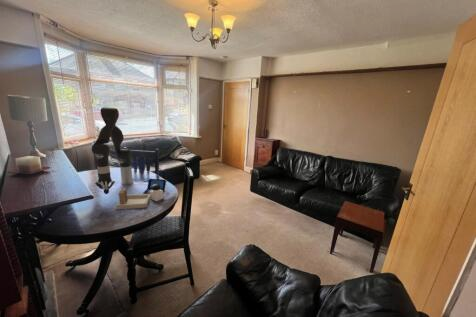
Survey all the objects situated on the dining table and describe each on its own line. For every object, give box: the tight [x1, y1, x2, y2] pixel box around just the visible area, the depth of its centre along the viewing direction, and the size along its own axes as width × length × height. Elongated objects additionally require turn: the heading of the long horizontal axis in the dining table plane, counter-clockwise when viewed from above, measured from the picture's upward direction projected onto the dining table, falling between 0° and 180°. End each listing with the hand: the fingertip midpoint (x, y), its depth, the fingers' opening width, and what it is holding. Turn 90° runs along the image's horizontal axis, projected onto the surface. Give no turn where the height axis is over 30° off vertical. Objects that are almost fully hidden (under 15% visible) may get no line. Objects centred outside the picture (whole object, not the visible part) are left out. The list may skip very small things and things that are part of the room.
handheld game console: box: [142, 178, 167, 194], centre depth 175 cm, size 16×13×9 cm
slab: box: [118, 188, 128, 204], centre depth 152 cm, size 8×3×10 cm, turn 12°
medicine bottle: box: [150, 184, 164, 202], centre depth 162 cm, size 7×7×12 cm
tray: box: [114, 193, 151, 210], centre depth 155 cm, size 17×21×3 cm
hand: (106, 193), depth 149 cm, fingers closed
